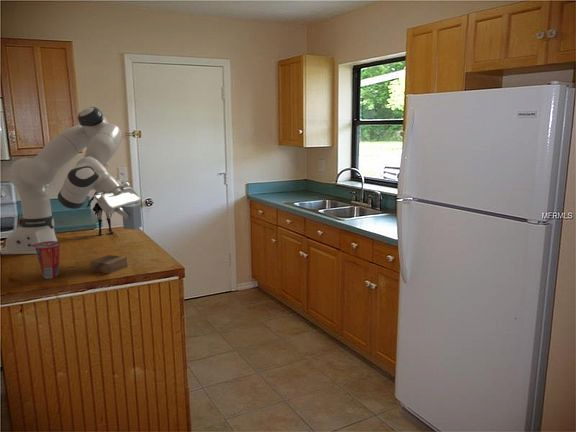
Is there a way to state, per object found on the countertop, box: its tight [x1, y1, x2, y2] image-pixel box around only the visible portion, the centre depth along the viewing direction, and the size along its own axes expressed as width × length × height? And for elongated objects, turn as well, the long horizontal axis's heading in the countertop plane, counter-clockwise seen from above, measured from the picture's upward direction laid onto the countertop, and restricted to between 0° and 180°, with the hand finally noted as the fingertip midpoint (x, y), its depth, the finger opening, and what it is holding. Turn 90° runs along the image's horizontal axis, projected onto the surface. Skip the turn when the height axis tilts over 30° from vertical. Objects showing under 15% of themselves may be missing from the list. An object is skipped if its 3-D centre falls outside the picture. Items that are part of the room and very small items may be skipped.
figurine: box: [86, 191, 114, 237], centre depth 230 cm, size 15×6×30 cm, turn 117°
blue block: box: [122, 204, 143, 230], centre depth 189 cm, size 5×5×9 cm
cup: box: [30, 240, 61, 279], centre depth 171 cm, size 9×8×12 cm
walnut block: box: [90, 254, 128, 275], centre depth 180 cm, size 9×9×4 cm
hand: (133, 215), depth 189 cm, fingers closed on blue block, 5 cm apart
